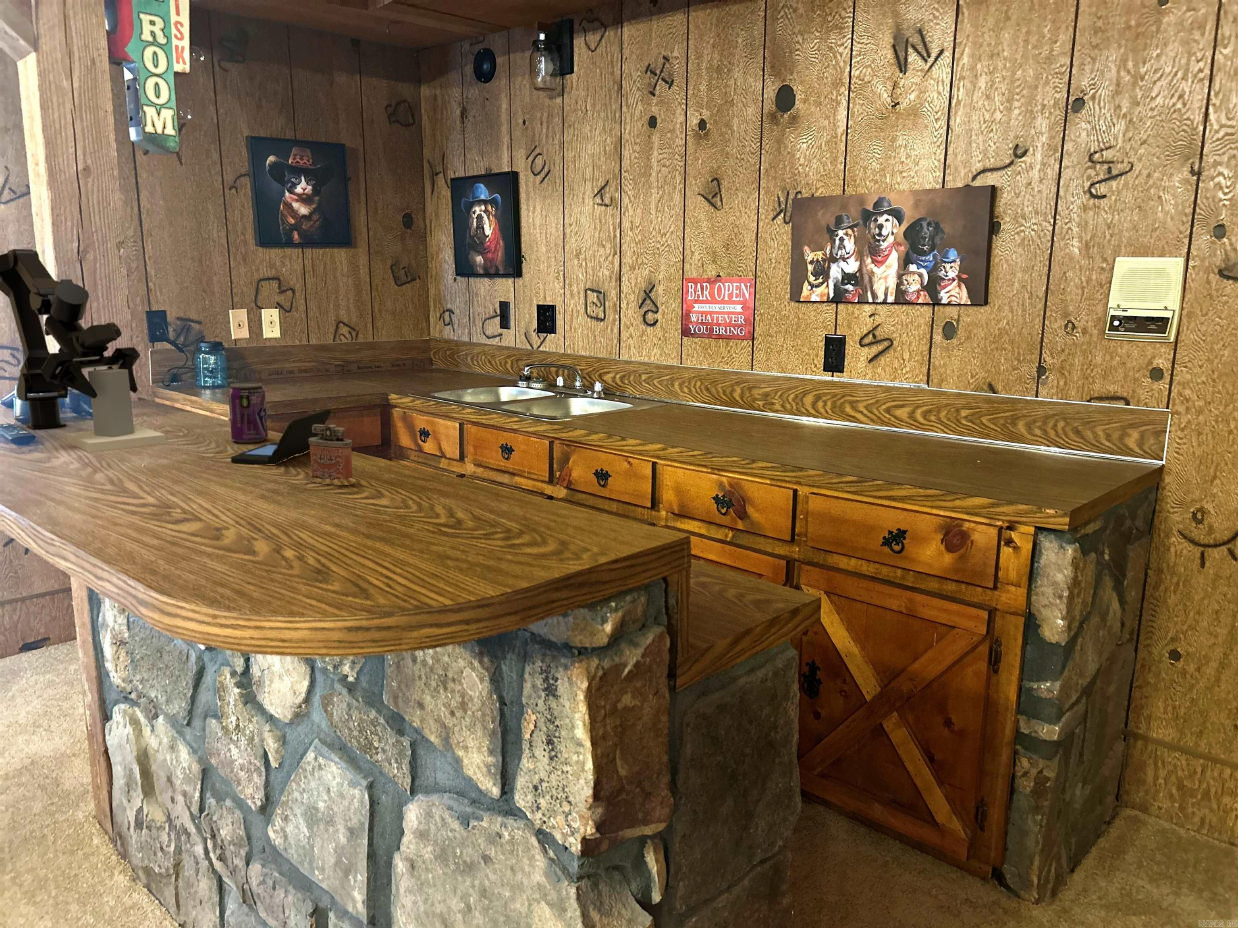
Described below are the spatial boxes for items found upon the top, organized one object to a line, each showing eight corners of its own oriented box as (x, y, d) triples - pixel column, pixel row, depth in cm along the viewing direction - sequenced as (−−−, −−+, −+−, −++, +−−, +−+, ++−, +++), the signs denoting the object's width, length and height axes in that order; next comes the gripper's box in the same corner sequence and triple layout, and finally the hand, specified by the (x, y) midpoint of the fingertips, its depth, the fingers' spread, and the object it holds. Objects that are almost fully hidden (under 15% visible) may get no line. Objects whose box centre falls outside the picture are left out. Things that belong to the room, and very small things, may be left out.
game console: (273, 448, 181) (270, 405, 179) (335, 452, 179) (333, 408, 177) (227, 464, 166) (223, 416, 164) (294, 468, 164) (291, 420, 162)
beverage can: (255, 445, 183) (251, 387, 181) (224, 443, 184) (220, 385, 182) (275, 439, 190) (271, 383, 187) (245, 437, 191) (241, 381, 189)
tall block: (94, 435, 180) (87, 371, 178) (115, 431, 185) (109, 368, 182) (113, 436, 179) (106, 372, 176) (134, 432, 183) (127, 369, 181)
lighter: (358, 482, 153) (355, 425, 151) (346, 486, 150) (343, 428, 148) (318, 478, 155) (316, 421, 153) (306, 482, 152) (303, 424, 150)
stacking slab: (67, 445, 182) (66, 433, 182) (140, 437, 192) (139, 425, 192) (90, 455, 173) (89, 443, 172) (166, 446, 183) (165, 434, 182)
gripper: (44, 311, 170) (91, 372, 168) (129, 308, 187) (173, 363, 185) (20, 350, 174) (66, 410, 172) (106, 344, 191) (148, 398, 189)
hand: (116, 394), depth 180 cm, fingers open, 9 cm apart
